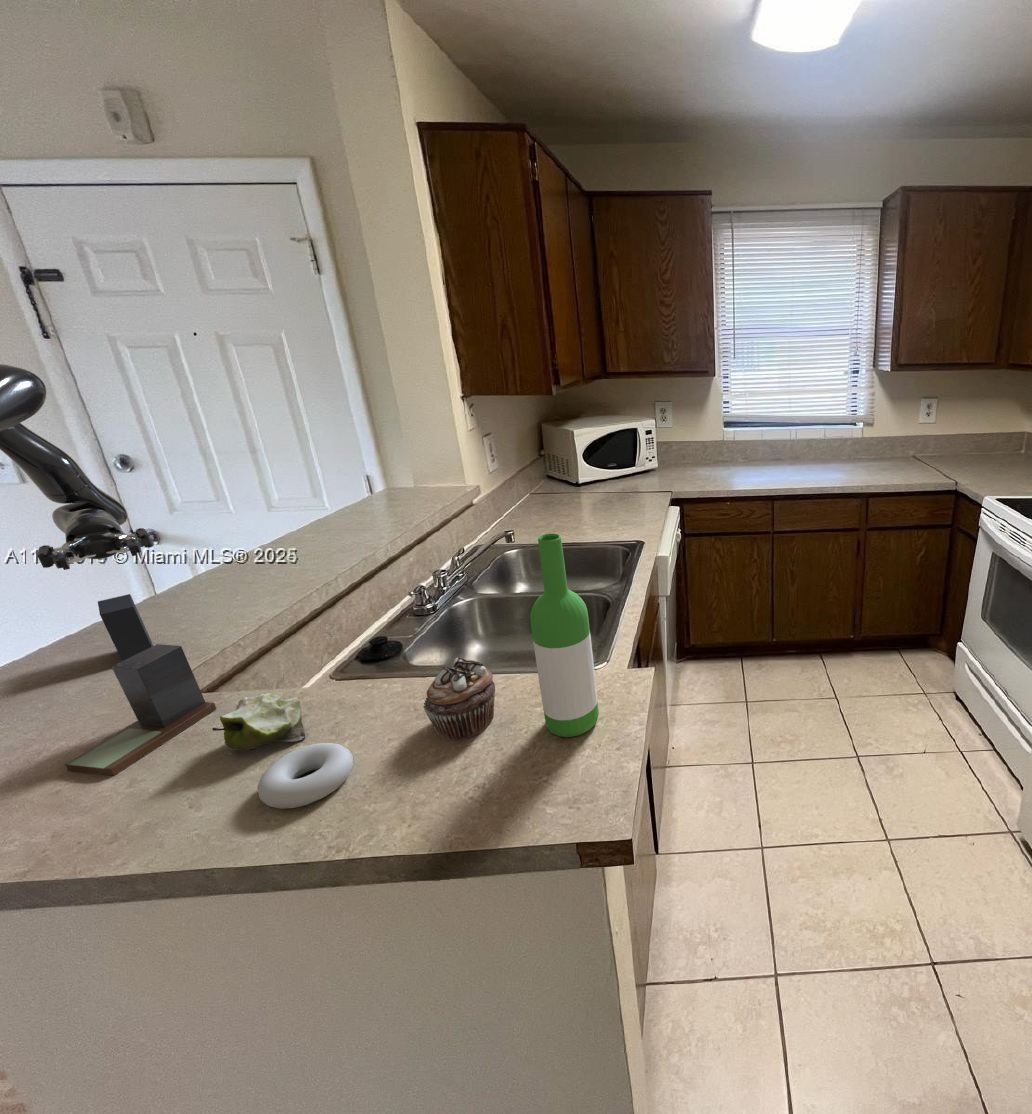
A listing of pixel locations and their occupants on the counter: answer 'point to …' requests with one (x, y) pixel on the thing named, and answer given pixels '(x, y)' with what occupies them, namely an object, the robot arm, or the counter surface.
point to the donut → (290, 792)
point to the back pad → (124, 625)
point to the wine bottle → (563, 648)
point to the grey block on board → (148, 709)
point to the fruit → (262, 722)
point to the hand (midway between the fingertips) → (99, 557)
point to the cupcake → (461, 700)
